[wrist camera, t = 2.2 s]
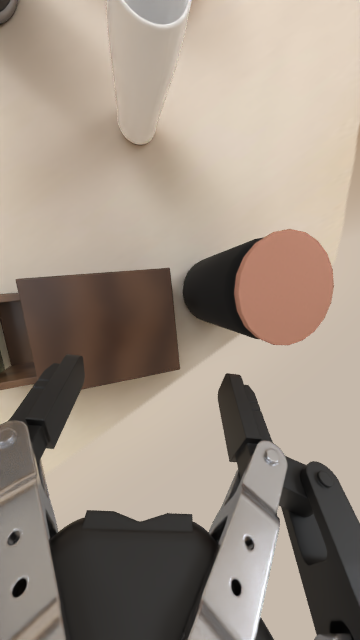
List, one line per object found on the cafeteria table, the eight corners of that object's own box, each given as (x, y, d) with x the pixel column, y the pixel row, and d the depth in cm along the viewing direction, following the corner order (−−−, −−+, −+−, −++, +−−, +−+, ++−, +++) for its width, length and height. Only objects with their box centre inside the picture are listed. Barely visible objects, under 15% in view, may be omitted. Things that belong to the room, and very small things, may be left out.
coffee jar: (193, 330, 36) (258, 365, 19) (171, 272, 34) (222, 252, 17) (244, 306, 38) (343, 319, 21) (226, 250, 36) (322, 212, 19)
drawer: (-43, 383, 27) (-104, 417, 20) (-68, 296, 25) (-145, 298, 18) (107, 357, 32) (102, 377, 25) (95, 283, 30) (86, 280, 23)
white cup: (152, 161, 31) (179, 49, 17) (106, 137, 29) (92, -13, 15) (165, 115, 31) (204, -39, 16) (119, 88, 29) (117, -114, 14)
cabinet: (64, 367, 31) (41, 397, 22) (48, 283, 29) (15, 279, 20) (165, 349, 35) (180, 369, 26) (156, 274, 33) (169, 267, 24)
